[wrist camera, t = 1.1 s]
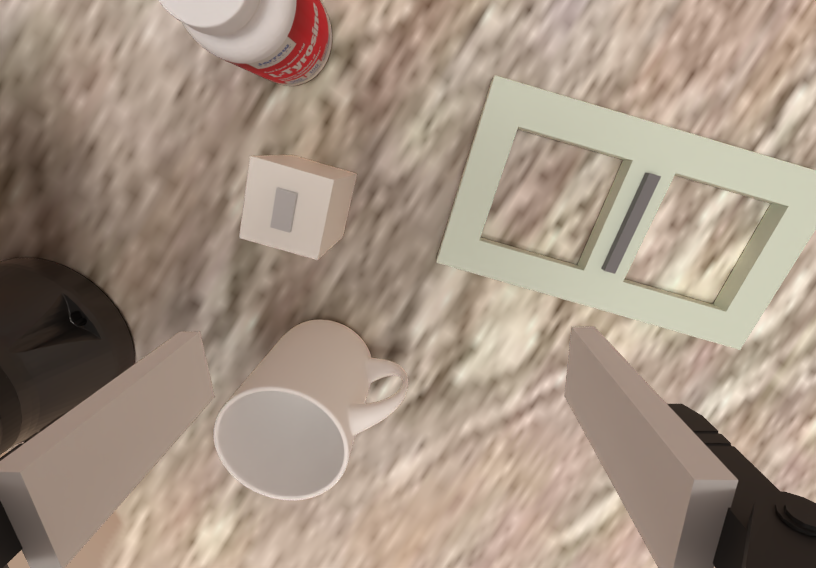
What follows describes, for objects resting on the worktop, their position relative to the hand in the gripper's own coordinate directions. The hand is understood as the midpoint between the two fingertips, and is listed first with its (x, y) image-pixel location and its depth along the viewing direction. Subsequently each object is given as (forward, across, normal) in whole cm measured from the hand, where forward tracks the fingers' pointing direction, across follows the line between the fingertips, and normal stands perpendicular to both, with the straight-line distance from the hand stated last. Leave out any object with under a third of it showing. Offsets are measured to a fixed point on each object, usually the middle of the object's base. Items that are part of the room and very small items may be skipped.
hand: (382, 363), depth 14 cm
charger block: (+18, -7, +4) cm, 20 cm away
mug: (+18, -6, -10) cm, 21 cm away
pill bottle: (+18, -8, +15) cm, 25 cm away
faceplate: (+18, +16, +2) cm, 24 cm away
